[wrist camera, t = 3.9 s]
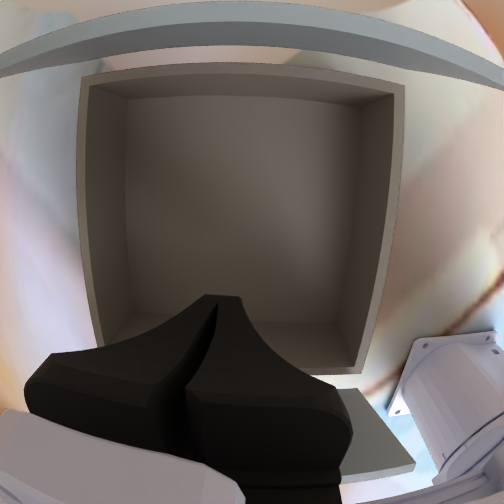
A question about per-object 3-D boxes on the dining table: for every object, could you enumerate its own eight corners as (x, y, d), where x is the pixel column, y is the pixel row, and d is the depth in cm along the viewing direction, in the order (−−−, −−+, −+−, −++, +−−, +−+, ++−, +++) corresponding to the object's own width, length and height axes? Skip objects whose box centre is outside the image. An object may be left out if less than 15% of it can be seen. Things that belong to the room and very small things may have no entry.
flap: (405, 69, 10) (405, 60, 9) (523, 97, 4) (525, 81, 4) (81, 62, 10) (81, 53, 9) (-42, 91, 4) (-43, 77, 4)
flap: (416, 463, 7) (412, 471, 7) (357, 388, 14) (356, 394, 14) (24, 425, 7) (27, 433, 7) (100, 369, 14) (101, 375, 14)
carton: (366, 102, 15) (404, 85, 10) (340, 326, 19) (361, 373, 14) (124, 94, 15) (81, 77, 10) (130, 312, 19) (99, 354, 14)
